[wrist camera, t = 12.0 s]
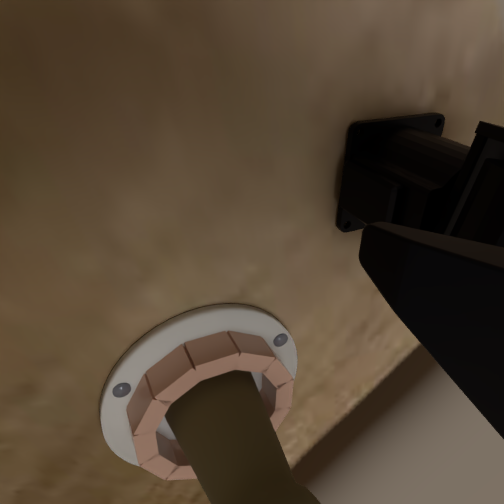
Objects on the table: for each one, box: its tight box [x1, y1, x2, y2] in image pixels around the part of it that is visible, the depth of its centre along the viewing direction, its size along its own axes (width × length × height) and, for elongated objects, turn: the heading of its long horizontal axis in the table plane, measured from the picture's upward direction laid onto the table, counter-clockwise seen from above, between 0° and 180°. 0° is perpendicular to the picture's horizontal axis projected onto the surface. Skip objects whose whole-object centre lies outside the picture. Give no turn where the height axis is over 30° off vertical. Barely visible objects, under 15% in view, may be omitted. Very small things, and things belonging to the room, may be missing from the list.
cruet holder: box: [99, 304, 297, 480], centre depth 27 cm, size 13×13×3 cm
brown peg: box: [164, 370, 320, 504], centre depth 23 cm, size 6×6×11 cm
